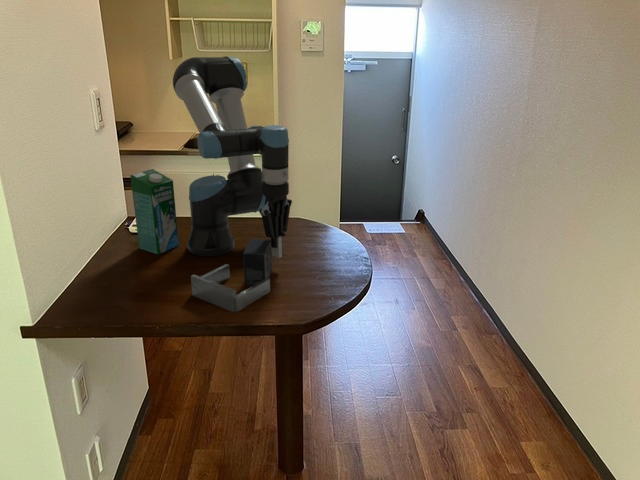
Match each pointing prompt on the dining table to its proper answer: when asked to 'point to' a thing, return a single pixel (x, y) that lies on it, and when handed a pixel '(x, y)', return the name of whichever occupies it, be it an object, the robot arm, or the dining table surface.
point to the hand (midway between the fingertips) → (276, 256)
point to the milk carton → (154, 211)
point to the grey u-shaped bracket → (226, 290)
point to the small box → (257, 261)
